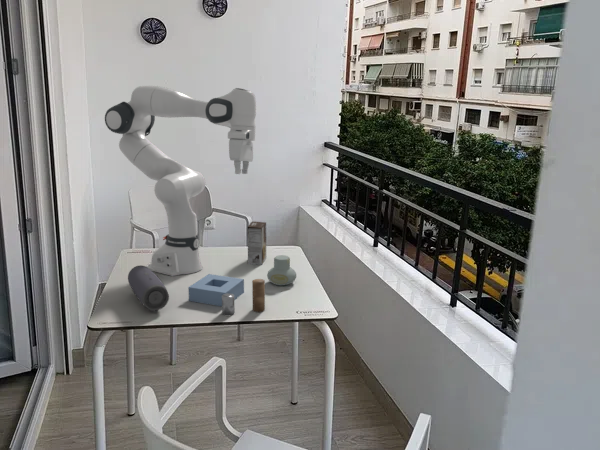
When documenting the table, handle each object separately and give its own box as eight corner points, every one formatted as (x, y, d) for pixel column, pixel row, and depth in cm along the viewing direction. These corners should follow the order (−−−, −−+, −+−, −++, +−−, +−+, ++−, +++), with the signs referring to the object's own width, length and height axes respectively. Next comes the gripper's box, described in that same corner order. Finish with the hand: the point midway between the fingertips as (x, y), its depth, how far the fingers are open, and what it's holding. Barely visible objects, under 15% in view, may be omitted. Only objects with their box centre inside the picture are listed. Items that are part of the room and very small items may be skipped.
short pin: (219, 314, 165) (219, 297, 163) (225, 309, 169) (225, 292, 167) (231, 316, 164) (230, 298, 162) (236, 311, 167) (236, 294, 166)
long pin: (250, 311, 168) (250, 282, 165) (255, 306, 172) (255, 278, 169) (261, 313, 167) (261, 284, 164) (266, 308, 170) (266, 279, 168)
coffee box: (252, 257, 223) (251, 221, 219) (266, 258, 222) (266, 221, 218) (247, 263, 214) (246, 226, 210) (262, 264, 213) (262, 227, 209)
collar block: (188, 300, 175) (188, 287, 174) (209, 286, 188) (208, 273, 187) (225, 307, 171) (225, 292, 170) (244, 292, 184) (243, 279, 182)
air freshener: (298, 280, 197) (298, 255, 194) (293, 287, 189) (294, 262, 186) (270, 277, 198) (270, 253, 196) (265, 285, 191) (265, 259, 188)
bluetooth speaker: (171, 311, 167) (170, 282, 164) (142, 316, 162) (140, 287, 160) (153, 288, 186) (152, 262, 184) (127, 292, 182) (125, 265, 179)
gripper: (241, 136, 195) (240, 173, 196) (226, 132, 174) (225, 173, 176) (257, 137, 194) (256, 174, 195) (244, 133, 174) (242, 174, 175)
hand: (241, 174), depth 185 cm, fingers open, 8 cm apart
